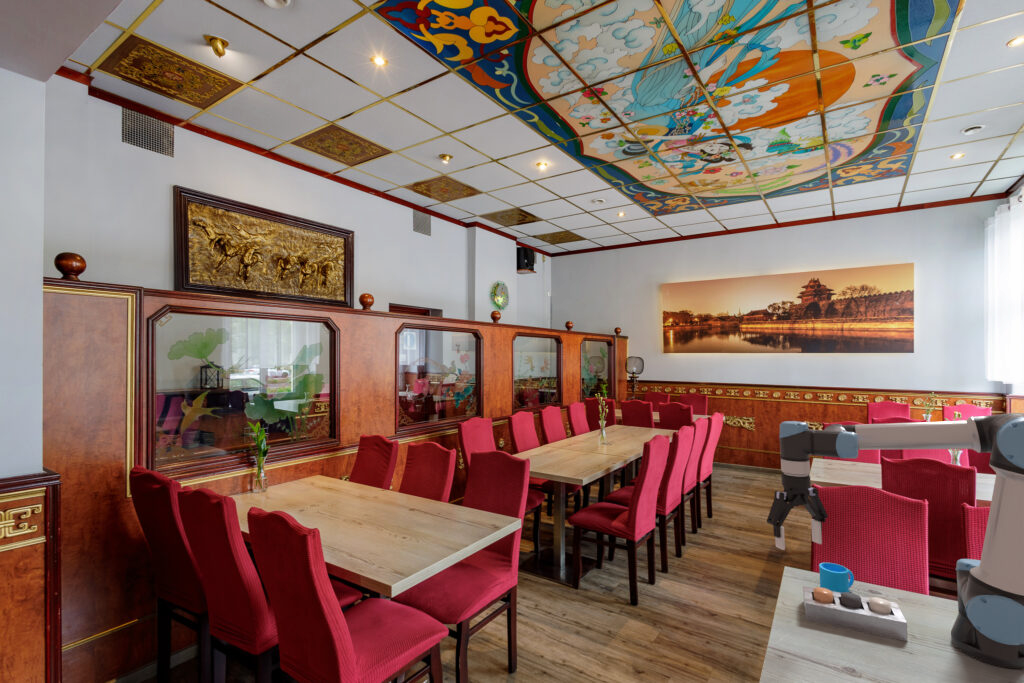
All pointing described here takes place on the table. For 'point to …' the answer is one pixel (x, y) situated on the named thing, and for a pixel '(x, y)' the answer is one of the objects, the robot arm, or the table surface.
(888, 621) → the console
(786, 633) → the table surface
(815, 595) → the button terracotta
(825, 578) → the mug
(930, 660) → the table surface
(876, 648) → the table surface
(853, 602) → the button black
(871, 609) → the button ivory
